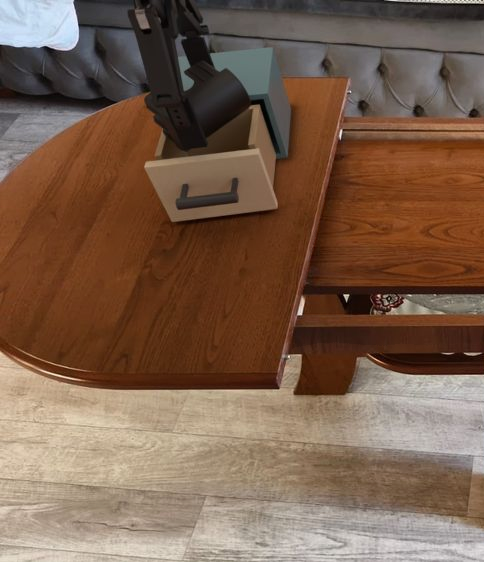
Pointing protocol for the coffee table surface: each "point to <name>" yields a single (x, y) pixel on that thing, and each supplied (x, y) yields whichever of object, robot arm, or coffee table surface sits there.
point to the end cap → (206, 100)
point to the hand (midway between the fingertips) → (203, 115)
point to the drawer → (218, 171)
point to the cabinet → (256, 88)
